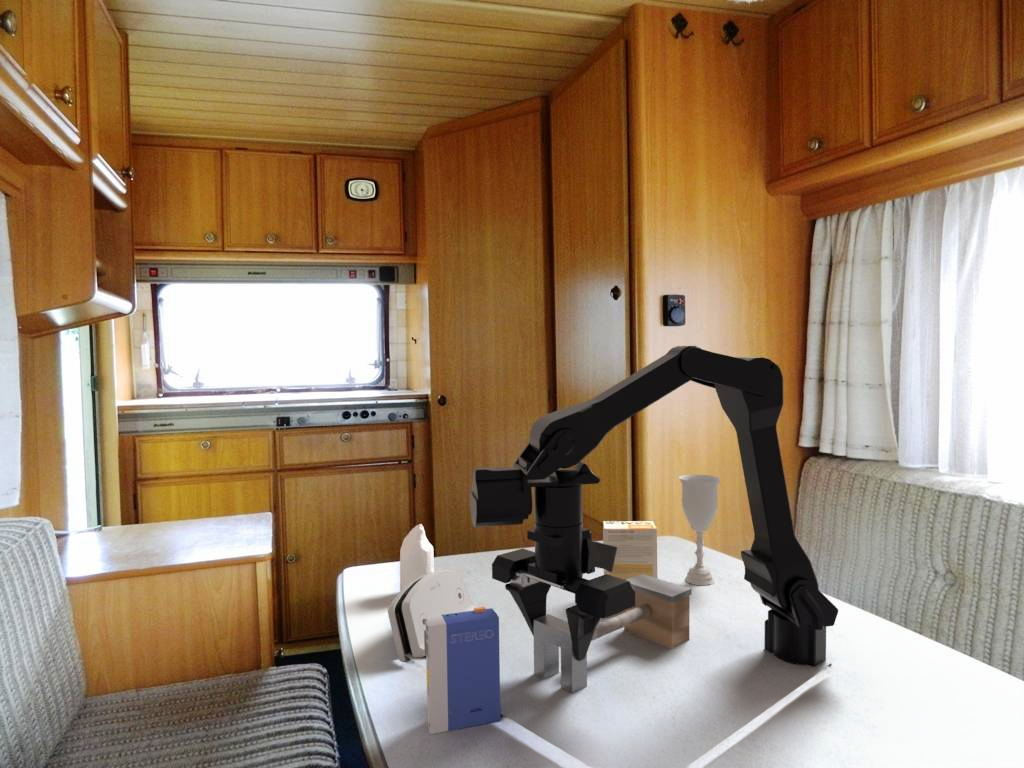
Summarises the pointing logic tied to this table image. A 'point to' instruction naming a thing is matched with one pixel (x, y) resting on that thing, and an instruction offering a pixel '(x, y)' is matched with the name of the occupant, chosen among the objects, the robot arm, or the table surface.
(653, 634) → the wooden mallet
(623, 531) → the supplement box
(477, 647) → the walkman
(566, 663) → the metal u-shaped block
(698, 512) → the chalice
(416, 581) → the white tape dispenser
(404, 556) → the white tall chunk
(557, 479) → the robot arm
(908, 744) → the table surface
